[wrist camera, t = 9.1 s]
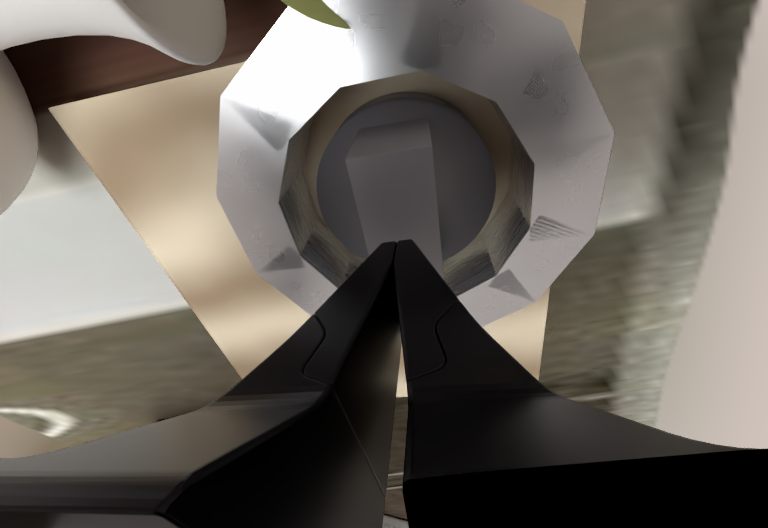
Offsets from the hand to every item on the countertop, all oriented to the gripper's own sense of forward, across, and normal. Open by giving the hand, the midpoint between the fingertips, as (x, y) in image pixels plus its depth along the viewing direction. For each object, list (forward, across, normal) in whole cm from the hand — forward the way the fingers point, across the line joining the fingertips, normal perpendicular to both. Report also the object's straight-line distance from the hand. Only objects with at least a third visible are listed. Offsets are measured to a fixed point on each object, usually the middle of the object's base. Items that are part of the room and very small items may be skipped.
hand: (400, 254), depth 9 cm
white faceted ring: (+5, 0, 0) cm, 5 cm away
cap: (+5, 0, 0) cm, 5 cm away
